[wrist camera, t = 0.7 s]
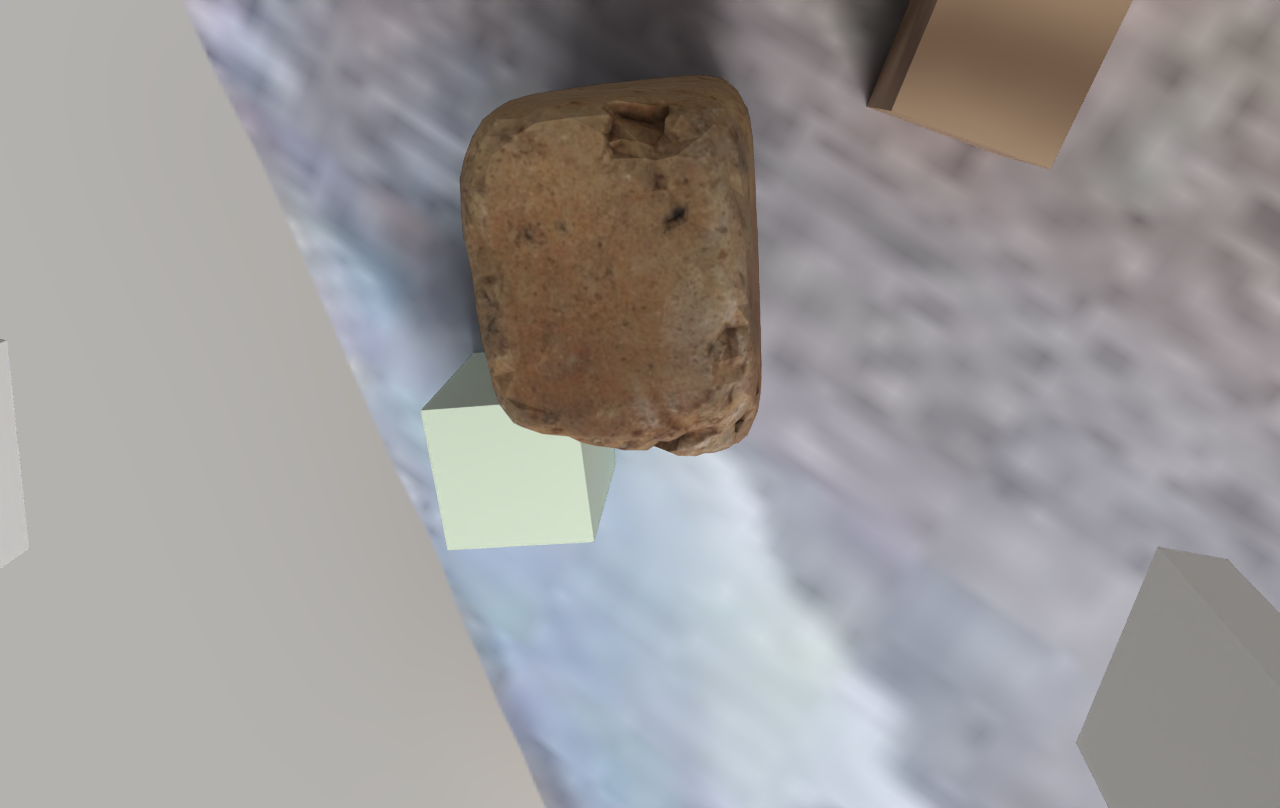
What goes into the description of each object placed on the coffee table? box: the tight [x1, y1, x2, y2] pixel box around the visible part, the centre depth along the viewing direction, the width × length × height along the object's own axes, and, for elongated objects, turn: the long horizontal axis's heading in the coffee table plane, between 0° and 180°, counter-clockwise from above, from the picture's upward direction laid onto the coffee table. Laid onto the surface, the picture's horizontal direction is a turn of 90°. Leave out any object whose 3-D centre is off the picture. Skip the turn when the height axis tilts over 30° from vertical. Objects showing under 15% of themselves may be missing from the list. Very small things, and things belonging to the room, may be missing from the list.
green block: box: [421, 352, 616, 550], centre depth 40 cm, size 6×6×8 cm
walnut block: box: [867, 0, 1132, 169], centre depth 34 cm, size 6×6×6 cm
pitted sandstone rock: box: [460, 75, 762, 456], centre depth 31 cm, size 11×8×20 cm
